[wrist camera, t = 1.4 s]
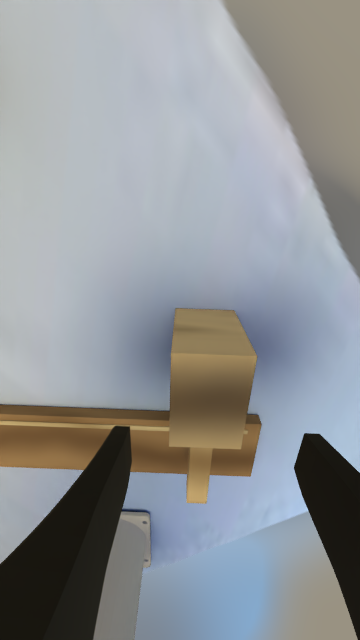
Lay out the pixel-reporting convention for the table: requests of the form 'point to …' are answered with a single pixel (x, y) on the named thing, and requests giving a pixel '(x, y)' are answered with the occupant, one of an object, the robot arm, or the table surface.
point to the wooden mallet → (208, 389)
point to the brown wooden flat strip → (92, 430)
